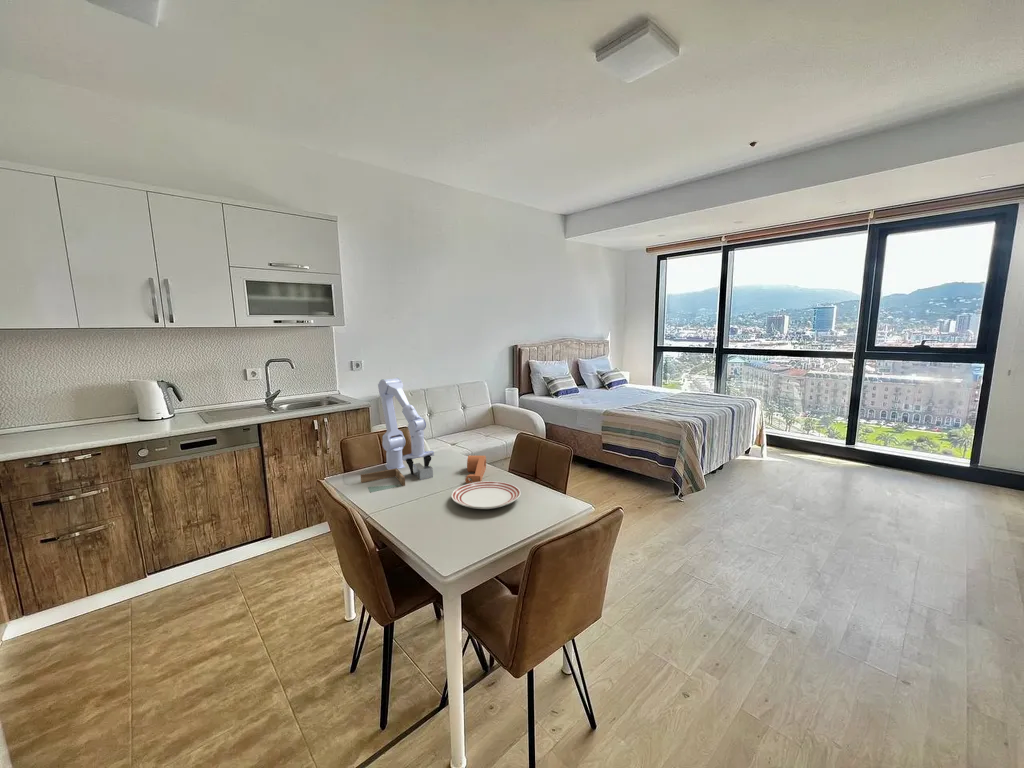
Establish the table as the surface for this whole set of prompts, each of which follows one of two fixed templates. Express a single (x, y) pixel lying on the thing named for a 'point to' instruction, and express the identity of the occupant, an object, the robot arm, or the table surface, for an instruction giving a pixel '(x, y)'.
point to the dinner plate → (486, 494)
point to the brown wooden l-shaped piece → (383, 476)
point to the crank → (475, 468)
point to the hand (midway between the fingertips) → (419, 472)
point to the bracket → (423, 471)
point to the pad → (381, 488)
